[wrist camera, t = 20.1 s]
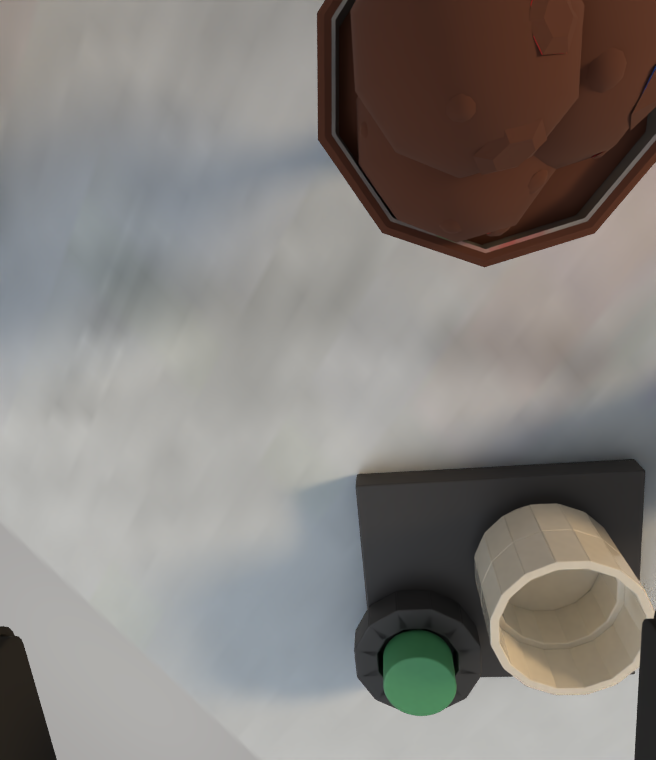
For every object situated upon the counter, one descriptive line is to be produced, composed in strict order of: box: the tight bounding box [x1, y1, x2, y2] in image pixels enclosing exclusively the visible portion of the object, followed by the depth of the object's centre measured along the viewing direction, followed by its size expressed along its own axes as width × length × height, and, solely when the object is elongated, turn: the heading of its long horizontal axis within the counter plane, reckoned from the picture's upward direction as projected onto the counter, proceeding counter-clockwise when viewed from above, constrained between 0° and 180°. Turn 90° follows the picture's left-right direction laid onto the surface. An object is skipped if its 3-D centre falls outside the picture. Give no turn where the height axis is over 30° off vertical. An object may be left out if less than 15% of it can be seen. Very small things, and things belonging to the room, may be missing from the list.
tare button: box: [383, 630, 457, 716], centre depth 32 cm, size 4×4×2 cm
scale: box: [354, 459, 645, 709], centre depth 32 cm, size 15×13×3 cm
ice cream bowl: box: [317, 0, 656, 267], centre depth 20 cm, size 11×11×15 cm
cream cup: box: [474, 503, 655, 695], centre depth 29 cm, size 7×7×6 cm
